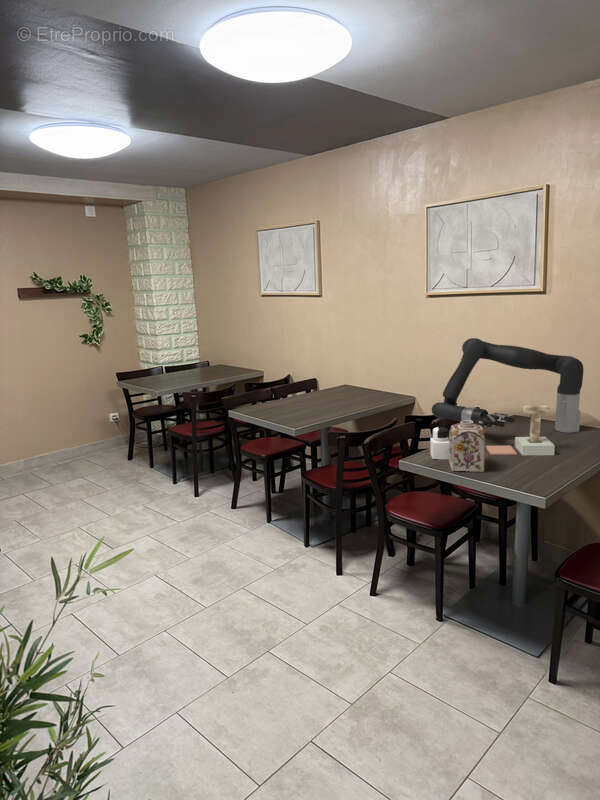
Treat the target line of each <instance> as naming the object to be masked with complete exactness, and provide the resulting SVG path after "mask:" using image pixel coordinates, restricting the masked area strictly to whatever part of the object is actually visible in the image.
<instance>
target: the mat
mask: <svg viewBox="0 0 600 800" xmlns="http://www.w3.org/2000/svg"><path fill="white" fill-rule="evenodd" d="M485 449H486V450H487V452H488V453H489V455H491V456H493V455H494V456H495V455H496V456H498V455H499V456H500V455H501V456H506V455H507V456H509V455H517V452H516V450H515V449H514V448H513V447H512V445H485Z"/></svg>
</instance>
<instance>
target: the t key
mask: <svg viewBox="0 0 600 800" xmlns="http://www.w3.org/2000/svg"><path fill="white" fill-rule="evenodd" d="M522 409H523V410H522V411H523V412H522V413H524V414H530V424H529V437H530V439H529V443H539V439H540V437H541V417H542V414H549V411H550V410H549V409H550V407H549V406H548V405H547V404H546V405H523V408H522Z"/></svg>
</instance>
